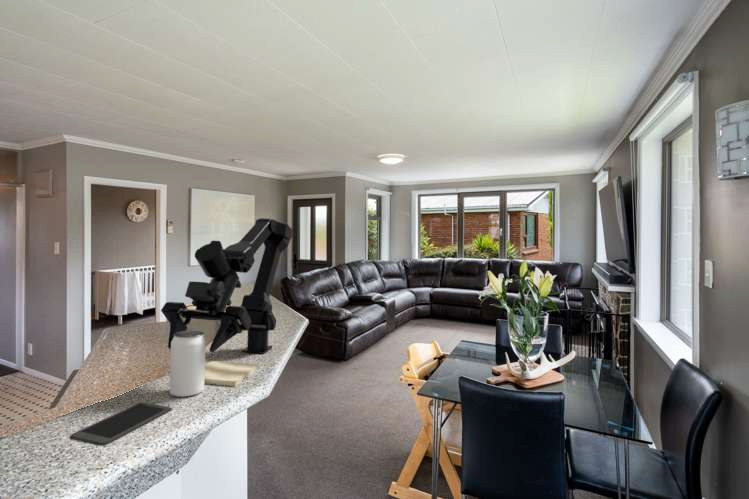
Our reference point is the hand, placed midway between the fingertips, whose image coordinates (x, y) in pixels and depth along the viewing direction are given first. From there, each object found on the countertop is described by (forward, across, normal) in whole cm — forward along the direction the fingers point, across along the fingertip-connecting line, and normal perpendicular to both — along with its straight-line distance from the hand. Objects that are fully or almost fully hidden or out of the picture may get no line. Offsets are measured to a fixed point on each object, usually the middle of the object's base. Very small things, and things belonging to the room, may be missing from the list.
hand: (190, 349), depth 82 cm
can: (+6, 0, +6) cm, 9 cm away
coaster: (-2, +2, +13) cm, 14 cm away
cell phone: (+17, -2, -4) cm, 18 cm away
